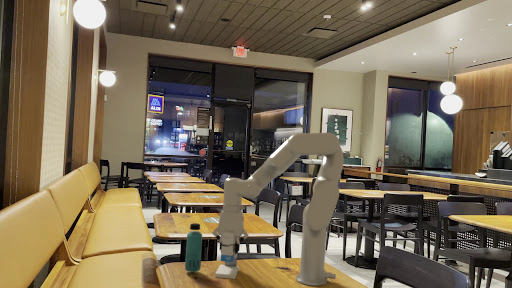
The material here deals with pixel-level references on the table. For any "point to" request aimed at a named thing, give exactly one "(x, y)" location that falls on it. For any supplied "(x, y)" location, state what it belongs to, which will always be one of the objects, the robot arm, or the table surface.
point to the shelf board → (227, 271)
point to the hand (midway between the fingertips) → (229, 251)
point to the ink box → (228, 246)
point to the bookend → (232, 263)
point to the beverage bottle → (193, 249)
